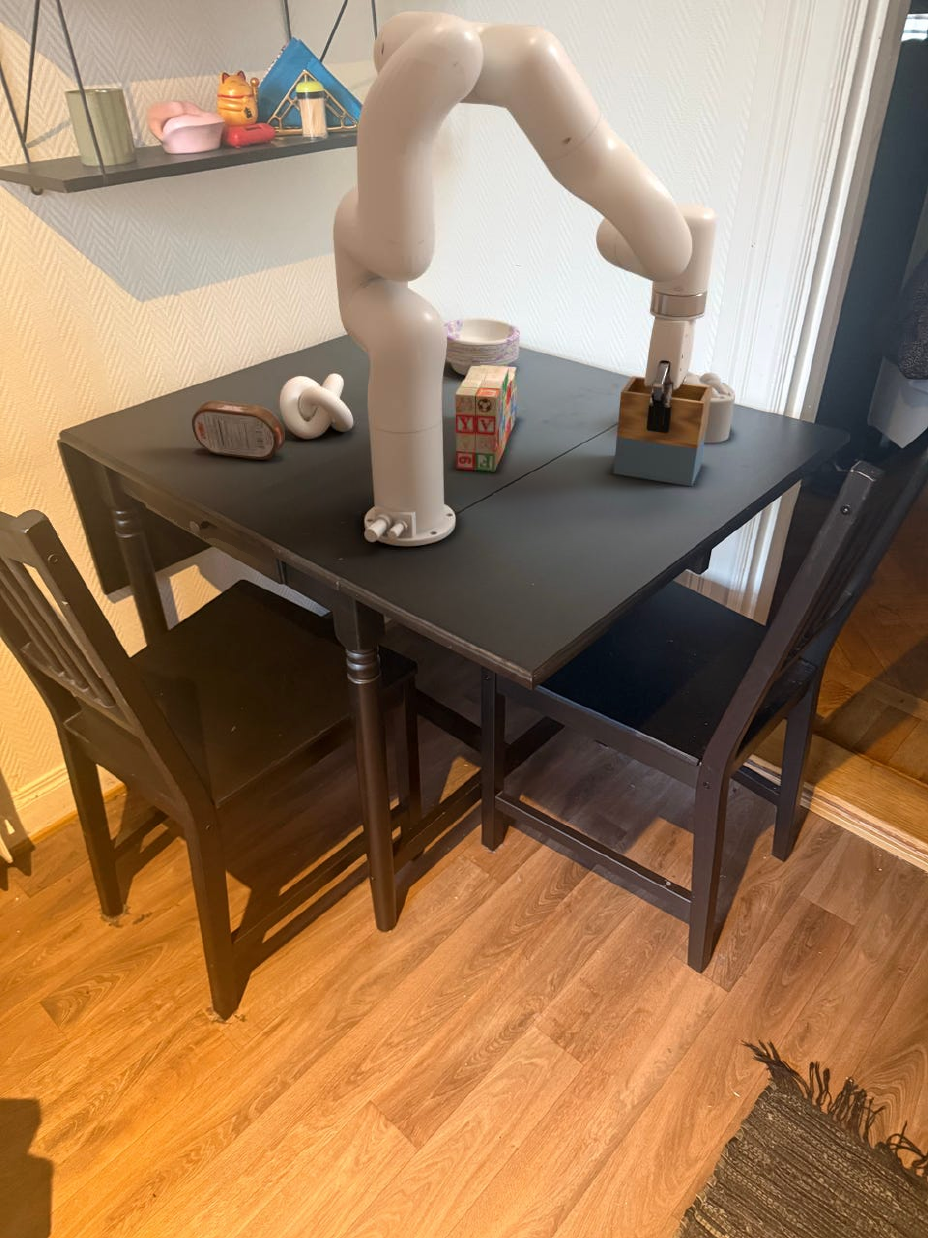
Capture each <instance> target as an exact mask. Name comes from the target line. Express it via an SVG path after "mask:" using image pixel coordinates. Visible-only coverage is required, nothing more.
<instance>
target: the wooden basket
mask: <svg viewBox="0 0 928 1238" xmlns="http://www.w3.org/2000/svg"><path fill="white" fill-rule="evenodd" d="M644 381H645V376H644V377H642V376H635V375H632V376H631V378H630V379H629V381H628V382H627V383H626V385H625V386H624V387H623V389H622V390H621V392H620V399H619V408H618V409H619V410H618V420H617V430H616V431H617V432H616V438H617V437H621V438H628V439H634V440H641V441H647V442H654V443H661V444H667V445H674V446H680V447H687V448H694V449H697V448H698V446H699V444H700V442H701V440H702V438H703V436H704V434H705V432H706V427H707V421H708V415H709V408H710V401H711V395H712V388H713V387H712V386H705V385H698V384H690V383H681V385H680V386H679V388H677V389H676V390H673V393H672V398H671V402H670V406H672V410H671V418H670V427H669V431H668V433H660V432H653V431H648V430H647V418H648V408H649V403H650V398H651V394H652V389H653V385H654V383H653V384H652V386H649V387H646V386H645V384H644ZM665 384H668V385H671V383H666V382H665ZM663 392H664V393H665V394H666V397H667V393H668V391H663Z"/></svg>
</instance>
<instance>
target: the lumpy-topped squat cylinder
mask: <svg viewBox="0 0 928 1238" xmlns="http://www.w3.org/2000/svg"><path fill="white" fill-rule="evenodd" d="M684 383H690V384H698V385H705V386H712V387H713V388H712V395H711V401H710V408H709V415H708V421H707V427H706V434H705V441H704V444H716V443H722V442H725V441H727V440H728V439H729V437H730V430H731V425H732V419H733V412H734V406H735V401H736V393H735V391H734V389H733V388H732V387H730V386H729V385H727V384H726V383H725V382H722V380H721V378H720V376H719V375H718V374H716V373H715V372H714V373H713V372H706V373H703V374H702V375H699V374H695V373H693V372H691V371H689V370H688V372H687V374H686V377H685V381H684Z"/></svg>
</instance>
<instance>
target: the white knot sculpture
mask: <svg viewBox="0 0 928 1238" xmlns="http://www.w3.org/2000/svg"><path fill="white" fill-rule="evenodd" d="M344 382H345V381H344V379H343V377H342V376H341V374H338V373H330V374H329V375H328V376H326V378H325V380H324V382H323V383H322V385H320V384H319V383H318V382H317V381H315V380H314V379H312V378H310V377H308V376H303V375H299V376H294V377H292V378H291V379H289V380H288V381H287V382H285V384H284V385H283V387H282V389H281V390H280V395H279V409H280V413H281V418H282V420H283V422H284V424H285V426H286V427H287V428H288V430H289V431H290V432H291V433H292V434H293V435H294V436H297V437H298V438H299V439H300V438H301V439H304V440H315V439H317V438H319V437H320V436H322V435H323V434H325V432H326V431H327V430H328V429H329V427H330V426H331V428H333V430H335V431H338V432H341V433H347V432H348V431H350V430H351V429H352V428H353V426H354V419H353V418H354V417H353V414H352V411H351V410H350V408H349V407H348V406H347V405H346V403H345V402H344V401H343V400H341V395H342V392H343V389H344V386H345V383H344Z"/></svg>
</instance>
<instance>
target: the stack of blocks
mask: <svg viewBox="0 0 928 1238" xmlns="http://www.w3.org/2000/svg"><path fill="white" fill-rule="evenodd" d="M517 369H518V368H517V367H516V366H487V365H481V367H480V366H471V367H470V369H469V371H468V374H467V376H464V377H465V378H464V379H463V381H462V382H461V383H460V385H459V387H458V389H457V390H456V392H455V395H454V399H455V401H454V403H455V406H454V407H455V409H454V410H455V419H454V420H455V421H454V422H455V424H454V425H455V467H456V468H455V469H457V470H467V471H468V470H469V471H481V472H492V473H494V472H496V470H497V467H498V464H499V463H500V461H501V459H502V456H503V454H504V451H505V449H506V444H507V442H508V438H509V436H510V433H511V432H512V431H513V428H514V425H515V423H516V420H517V403H518V402H517V399H518V384H517V371H518V370H517Z"/></svg>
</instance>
